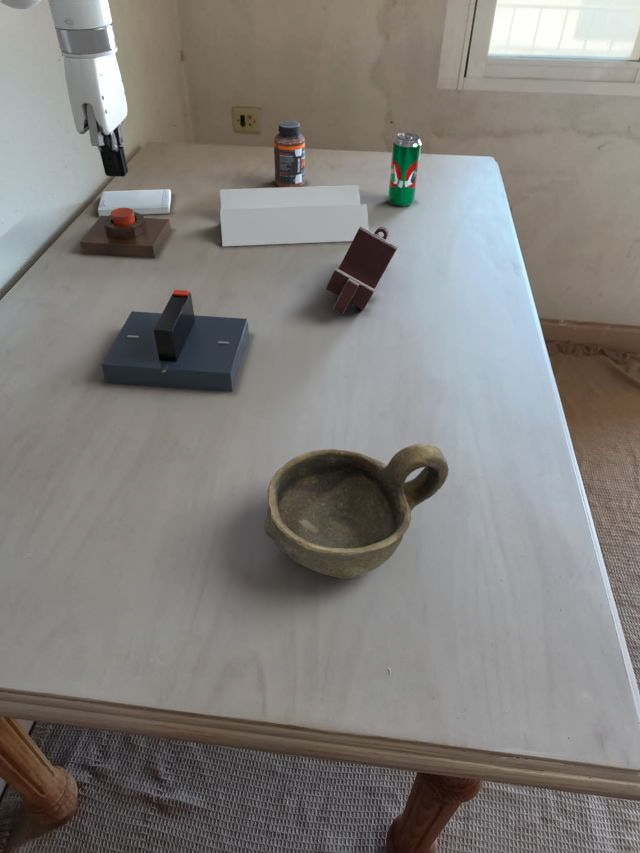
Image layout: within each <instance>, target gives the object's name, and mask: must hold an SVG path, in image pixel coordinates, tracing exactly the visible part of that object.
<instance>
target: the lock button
mask: <svg viewBox="0 0 640 853" xmlns="http://www.w3.org/2000/svg"><path fill="white" fill-rule="evenodd" d="M111 216H112V221H113V224H114V225H117V226H125V225H130V224H132V223H134V222H135V216H134V211H133V210H132V209H130V208H117V209H115V210H113V211H112V212H111Z"/></svg>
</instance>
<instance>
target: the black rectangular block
mask: <svg viewBox="0 0 640 853" xmlns="http://www.w3.org/2000/svg"><path fill="white" fill-rule="evenodd" d="M161 313H162V315H161V317H160V318H159V320H158V322H157V324H156V326H155V328H154V335H155V341H156V346H157V351H158V356H159V360H161V361H174V362H177V360H178V358H179V355H180V353H181V351H182V349H183V347H184V344H185V342H186V340H187V338H188V335H189V333H190V331H191V329H192V327H193V324H194V322H195V318H194V315H195V312H194V305H193V298H192V292H191V291H190V290H184V289H174V290H173V292H172V294H171V295H170V298H169V299H168V302H167V303H166V305H165V307H164V309H163V311H162V312H161Z"/></svg>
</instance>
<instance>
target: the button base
mask: <svg viewBox="0 0 640 853" xmlns="http://www.w3.org/2000/svg"><path fill="white" fill-rule="evenodd" d="M134 216H135V222H134V223H132V224H130V225H125V226H117V225H114V224H113V221H112V216H111V215H109V216H102V215H101V216H100V217H99V218H98V219H97V220H96V221H95V222H94V224H93V225H92V226H91V228H90V229H89V230H88V231H87V233H86V234H85V235H84V236H83V237H82V239H81V240H80V241H79V244H80V247H81V252H82V254H83V255H89V256H107V257H125V258H142V259H156V257H157V255H158V254H159V252H160V251H161V249H162V247H163V245H164V243H165V242H166V240H167V239H168V237H169V235H170V233H171V232H172V229H171V221H170V219H169V218H155V217H153V218H152V217H144V216H143V215H142V214H139V213H136V212H134Z"/></svg>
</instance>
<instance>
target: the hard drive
mask: <svg viewBox="0 0 640 853" xmlns="http://www.w3.org/2000/svg"><path fill="white" fill-rule="evenodd" d="M171 193H172V192H171V189H170V188H169V189H167V188H166V189H164V188H163V189H135V190H109V191H108V190H105V191H102V193H101V196H100V199H99V203H98V207H97V213H98V217H99V218H100V216H101V215H102V216H109V215H111V212H112V211H113V210H115V209H117V208H130V209H132V210H133V211H134V212H136V213H139V214H142V215H162V214H163V215H165V214H170V212H171V211H170V210H171V200H172V194H171Z"/></svg>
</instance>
